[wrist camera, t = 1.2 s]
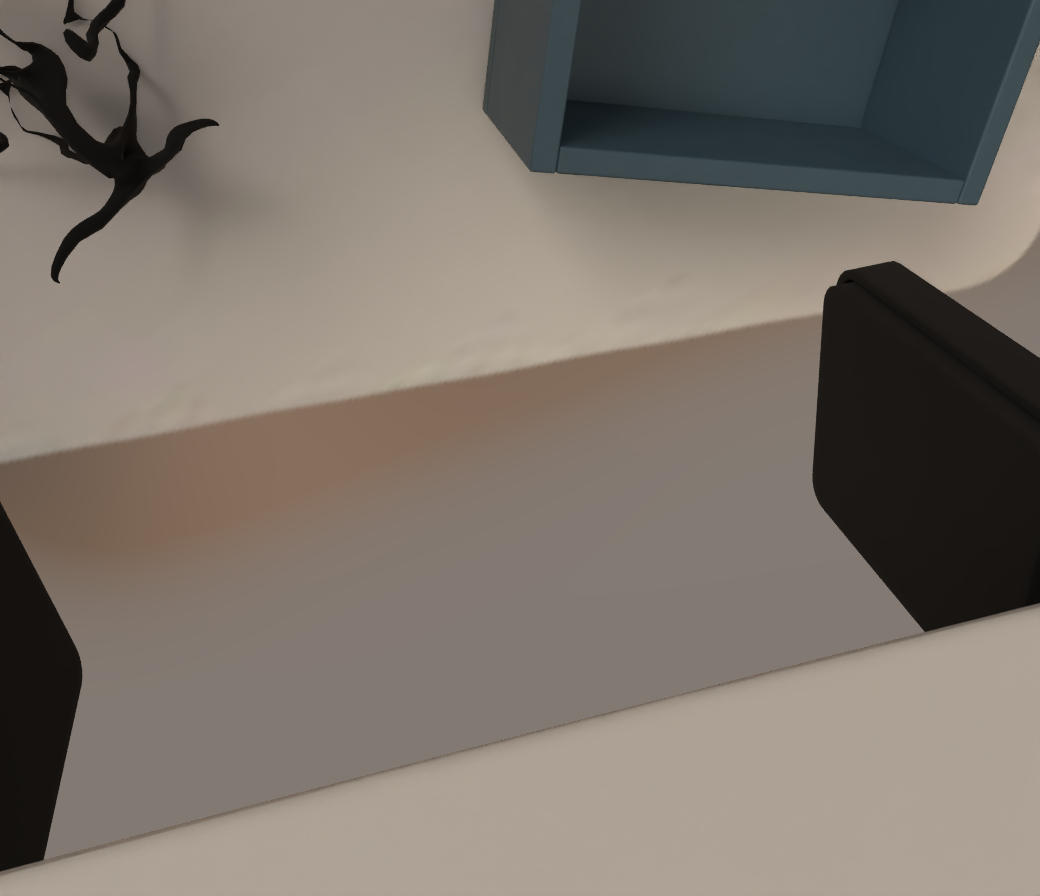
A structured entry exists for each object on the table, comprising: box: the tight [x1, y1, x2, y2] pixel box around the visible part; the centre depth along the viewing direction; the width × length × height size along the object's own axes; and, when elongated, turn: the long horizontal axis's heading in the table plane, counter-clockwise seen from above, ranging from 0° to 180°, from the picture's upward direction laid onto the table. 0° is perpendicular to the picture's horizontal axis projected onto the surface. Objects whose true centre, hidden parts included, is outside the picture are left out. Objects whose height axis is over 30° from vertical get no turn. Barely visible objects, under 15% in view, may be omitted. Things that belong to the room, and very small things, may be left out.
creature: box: [0, 0, 219, 283], centre depth 25 cm, size 8×5×8 cm
